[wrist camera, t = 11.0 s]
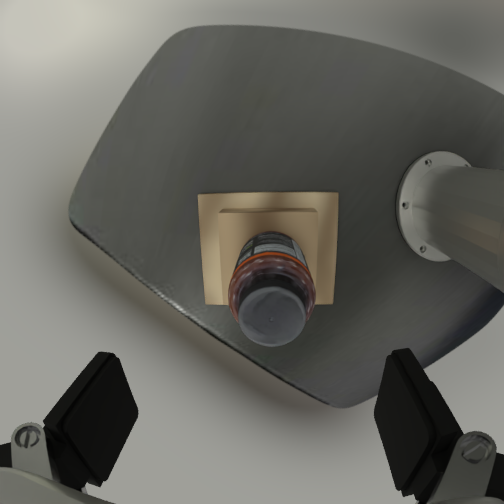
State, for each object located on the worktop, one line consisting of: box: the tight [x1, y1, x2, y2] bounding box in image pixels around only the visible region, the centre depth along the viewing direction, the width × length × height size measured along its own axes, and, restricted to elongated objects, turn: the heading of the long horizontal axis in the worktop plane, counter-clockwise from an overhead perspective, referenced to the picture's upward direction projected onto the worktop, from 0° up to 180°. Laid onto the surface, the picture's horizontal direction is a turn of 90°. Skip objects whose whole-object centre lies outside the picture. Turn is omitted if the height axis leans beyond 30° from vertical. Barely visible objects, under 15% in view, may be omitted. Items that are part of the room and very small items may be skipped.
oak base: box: [198, 192, 338, 305], centre depth 30 cm, size 14×12×4 cm
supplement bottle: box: [228, 231, 316, 346], centre depth 22 cm, size 6×6×11 cm
